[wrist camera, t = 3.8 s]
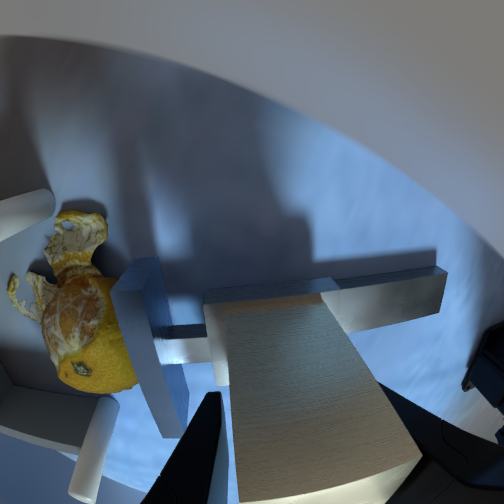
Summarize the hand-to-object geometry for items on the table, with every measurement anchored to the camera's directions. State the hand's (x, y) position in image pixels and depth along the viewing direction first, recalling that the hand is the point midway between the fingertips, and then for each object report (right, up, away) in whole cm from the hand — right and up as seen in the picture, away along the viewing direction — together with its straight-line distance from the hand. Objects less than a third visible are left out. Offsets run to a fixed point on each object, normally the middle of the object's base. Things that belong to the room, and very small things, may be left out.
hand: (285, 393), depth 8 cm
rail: (+4, +2, +5) cm, 7 cm away
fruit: (-9, +3, +4) cm, 10 cm away
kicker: (-1, +1, +4) cm, 4 cm away
